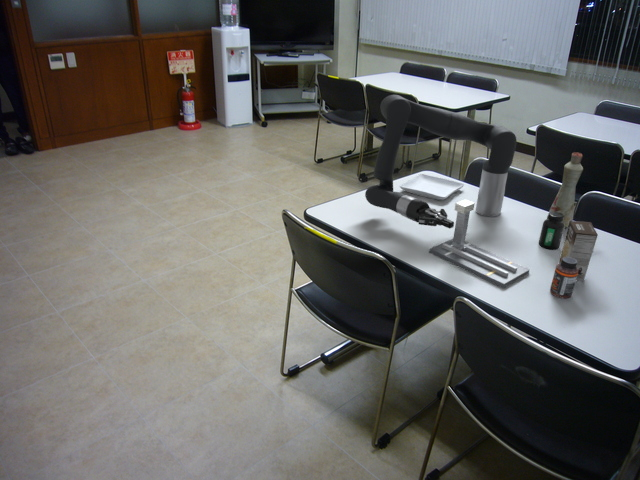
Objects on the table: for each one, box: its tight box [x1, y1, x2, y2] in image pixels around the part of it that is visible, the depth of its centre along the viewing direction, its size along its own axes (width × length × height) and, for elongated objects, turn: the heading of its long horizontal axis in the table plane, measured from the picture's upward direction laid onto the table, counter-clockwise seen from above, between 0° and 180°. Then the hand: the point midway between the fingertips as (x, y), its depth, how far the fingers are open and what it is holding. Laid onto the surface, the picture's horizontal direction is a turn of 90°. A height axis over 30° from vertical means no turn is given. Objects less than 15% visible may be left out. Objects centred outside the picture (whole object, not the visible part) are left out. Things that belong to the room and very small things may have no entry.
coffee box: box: [558, 220, 598, 282], centre depth 161 cm, size 9×6×16 cm
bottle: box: [546, 152, 584, 229], centre depth 191 cm, size 9×9×28 cm
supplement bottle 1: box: [538, 211, 565, 251], centre depth 178 cm, size 7×7×12 cm
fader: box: [451, 199, 476, 251], centre depth 170 cm, size 5×4×16 cm
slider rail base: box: [428, 238, 530, 289], centre depth 168 cm, size 14×28×3 cm, turn 40°
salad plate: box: [399, 173, 465, 201], centre depth 224 cm, size 21×21×3 cm
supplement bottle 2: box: [549, 257, 578, 299], centre depth 151 cm, size 6×6×11 cm
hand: (452, 225), depth 172 cm, fingers closed
